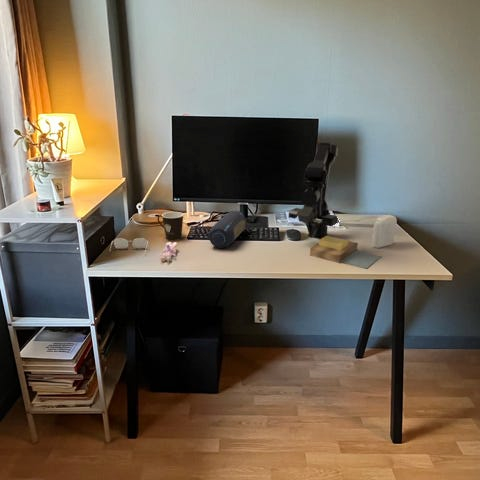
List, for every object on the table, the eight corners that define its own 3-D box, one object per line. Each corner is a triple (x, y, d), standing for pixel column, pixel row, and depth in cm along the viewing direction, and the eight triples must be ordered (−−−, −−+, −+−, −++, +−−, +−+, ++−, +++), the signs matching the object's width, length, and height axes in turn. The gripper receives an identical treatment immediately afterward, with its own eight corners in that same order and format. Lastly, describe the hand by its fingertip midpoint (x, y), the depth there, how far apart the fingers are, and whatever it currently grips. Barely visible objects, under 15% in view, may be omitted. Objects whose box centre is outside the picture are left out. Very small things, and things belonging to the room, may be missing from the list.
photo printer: (386, 241, 191) (390, 212, 186) (395, 244, 187) (399, 214, 183) (369, 245, 185) (372, 216, 181) (378, 249, 182) (381, 219, 178)
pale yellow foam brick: (319, 244, 178) (319, 239, 177) (326, 240, 182) (326, 235, 181) (340, 250, 173) (341, 245, 172) (347, 245, 177) (347, 240, 176)
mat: (340, 262, 169) (340, 261, 169) (355, 250, 180) (356, 250, 180) (366, 268, 164) (366, 268, 164) (381, 256, 174) (381, 256, 174)
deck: (310, 255, 175) (310, 248, 174) (328, 243, 187) (329, 236, 186) (339, 263, 169) (339, 255, 168) (357, 250, 181) (357, 242, 180)
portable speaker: (230, 252, 178) (230, 227, 175) (206, 249, 181) (205, 225, 178) (248, 231, 201) (248, 209, 197) (226, 229, 204) (226, 207, 200)
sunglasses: (149, 249, 182) (148, 238, 180) (146, 260, 175) (145, 249, 172) (113, 249, 181) (111, 238, 179) (108, 260, 174) (107, 249, 172)
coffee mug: (187, 238, 192) (187, 215, 188) (168, 242, 187) (167, 219, 184) (175, 231, 201) (174, 208, 197) (156, 234, 196) (155, 212, 193)
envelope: (383, 229, 207) (376, 219, 220) (384, 224, 206) (377, 215, 219) (329, 226, 208) (325, 217, 221) (329, 222, 207) (326, 213, 220)
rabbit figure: (173, 267, 168) (181, 246, 181) (172, 253, 165) (180, 233, 178) (156, 266, 168) (165, 245, 181) (155, 252, 165) (164, 232, 178)
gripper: (281, 199, 176) (280, 238, 181) (326, 208, 165) (323, 248, 171) (296, 193, 184) (294, 230, 190) (340, 201, 174) (336, 240, 179)
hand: (311, 237), depth 182 cm, fingers closed
